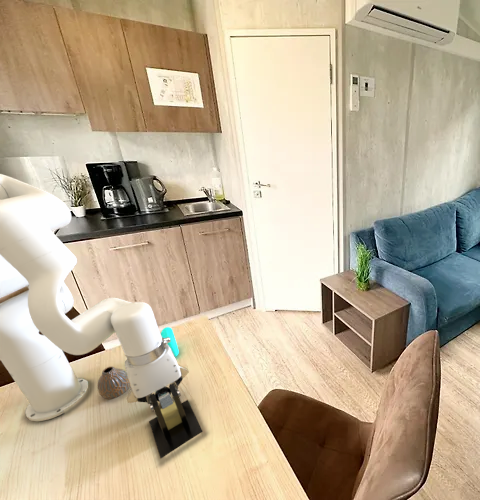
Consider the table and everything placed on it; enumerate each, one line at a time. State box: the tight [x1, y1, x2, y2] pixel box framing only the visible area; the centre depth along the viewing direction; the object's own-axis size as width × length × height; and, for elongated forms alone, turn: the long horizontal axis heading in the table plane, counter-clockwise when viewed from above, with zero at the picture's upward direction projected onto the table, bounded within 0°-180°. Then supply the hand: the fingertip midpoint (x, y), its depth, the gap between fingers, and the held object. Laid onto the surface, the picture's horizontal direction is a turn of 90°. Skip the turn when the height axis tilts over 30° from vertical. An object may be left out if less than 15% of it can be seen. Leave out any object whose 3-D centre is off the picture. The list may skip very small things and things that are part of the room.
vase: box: [96, 366, 131, 400], centre depth 78 cm, size 7×7×9 cm
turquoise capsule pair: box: [160, 326, 180, 358], centre depth 90 cm, size 10×10×10 cm
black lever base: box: [148, 384, 203, 460], centre depth 68 cm, size 12×9×12 cm
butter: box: [160, 401, 182, 430], centre depth 71 cm, size 5×4×3 cm
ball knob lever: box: [154, 386, 174, 409], centre depth 70 cm, size 13×4×4 cm
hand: (166, 403), depth 75 cm, fingers closed on ball knob lever, 3 cm apart
